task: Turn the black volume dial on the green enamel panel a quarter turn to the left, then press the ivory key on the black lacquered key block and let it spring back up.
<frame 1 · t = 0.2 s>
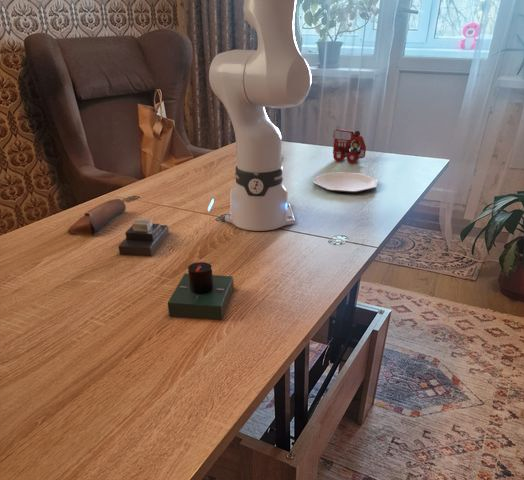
plate: (345, 186, 154), on the table
toy fire truck: (347, 161, 179), on the table
key block: (145, 243, 117), on the table
key: (142, 225, 114), point 5 cm above the table, slide at 0.1 cm
volume panel: (203, 302, 94), on the table
sunglasses case: (98, 223, 128), on the table
volume dial: (200, 277, 91), point 5 cm above the table, hinge at 0.0°
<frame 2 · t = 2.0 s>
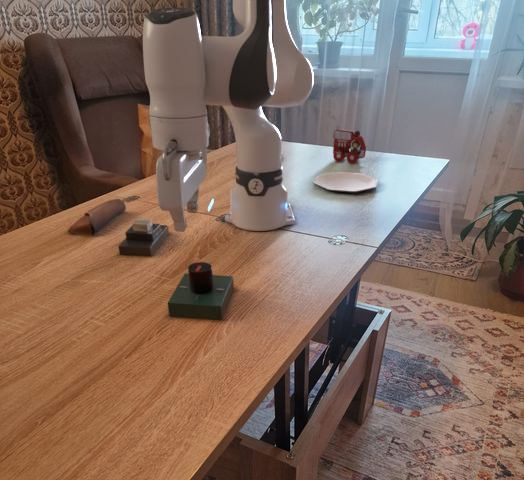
hand: (187, 220, 83), 17 cm above the table, tool pointing down, fingers open, 8 cm apart
nothing on the table moved.
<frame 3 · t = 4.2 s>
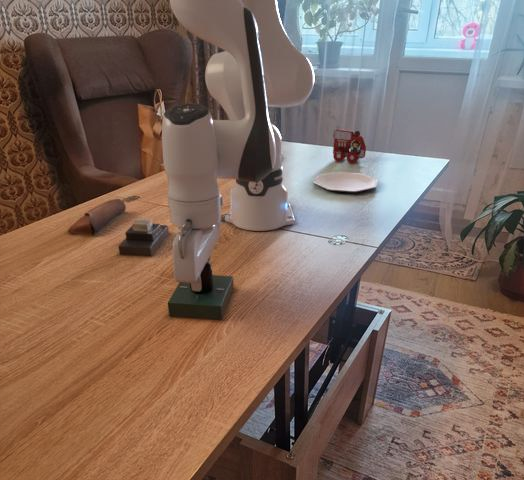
hand: (201, 282, 91), 4 cm above the table, tool pointing down, fingers closed on volume dial, 4 cm apart
volume dial: (200, 277, 91), point 5 cm above the table, hinge at 0.1°, touching gripper
everything else where it was.
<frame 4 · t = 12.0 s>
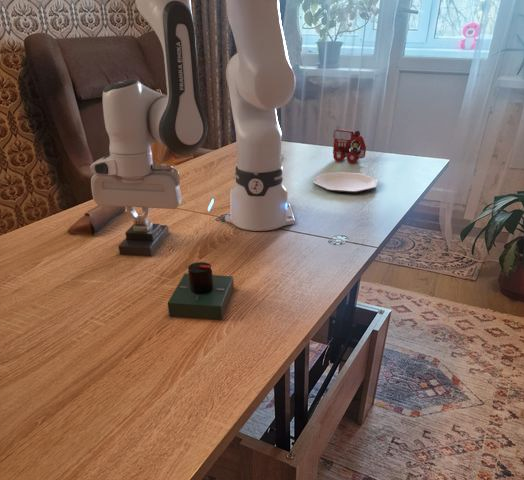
hand: (141, 224, 114), 5 cm above the table, tool pointing down, fingers closed, pressing on key
key: (143, 228, 115), point 4 cm above the table, slide at -0.7 cm, touching gripper
volume dial: (200, 277, 91), point 5 cm above the table, hinge at 86.8°
everything else where it was.
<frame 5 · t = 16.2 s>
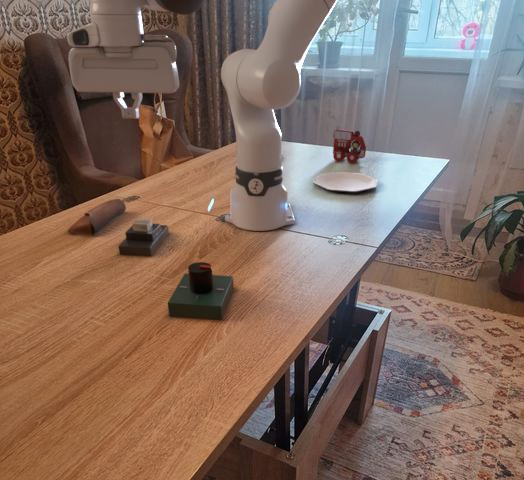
hand: (131, 118, 95), 29 cm above the table, tool pointing down, fingers closed
key: (142, 225, 114), point 5 cm above the table, slide at 0.1 cm
everything else where it was.
at the end: volume dial at +87° (first picture: +0°); key pushed in 1.1 cm at the most during the clip, back to where it started at the end; key slide at 0.1 cm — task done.
